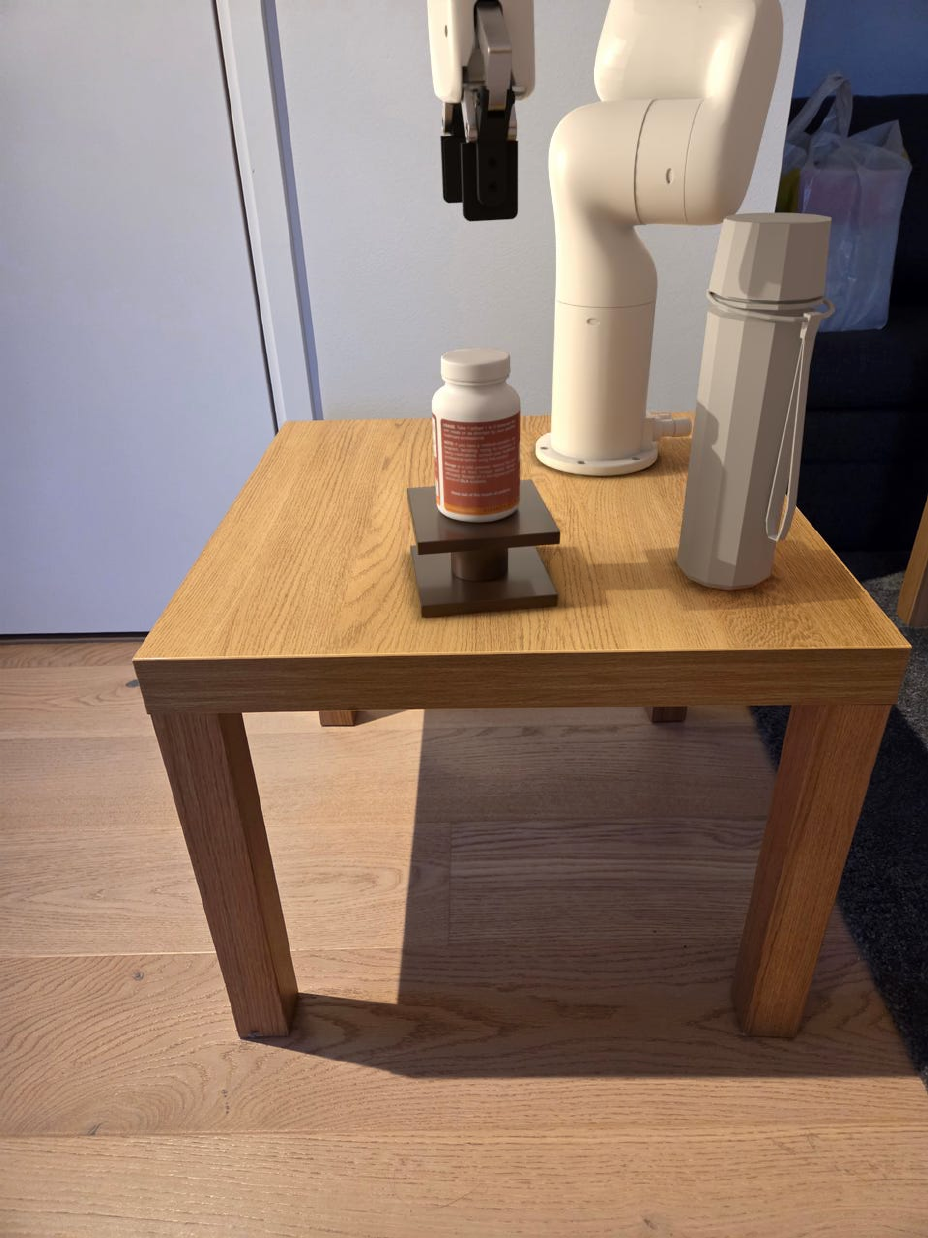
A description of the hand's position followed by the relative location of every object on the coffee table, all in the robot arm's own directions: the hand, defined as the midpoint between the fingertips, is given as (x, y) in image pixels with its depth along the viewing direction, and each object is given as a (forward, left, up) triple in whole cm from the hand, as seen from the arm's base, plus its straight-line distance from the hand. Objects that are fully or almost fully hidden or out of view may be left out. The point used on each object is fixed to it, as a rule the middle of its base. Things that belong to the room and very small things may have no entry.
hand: (477, 209), depth 54 cm
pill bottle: (+1, +2, -20) cm, 20 cm away
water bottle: (-19, +5, -26) cm, 32 cm away
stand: (0, +2, -26) cm, 26 cm away
